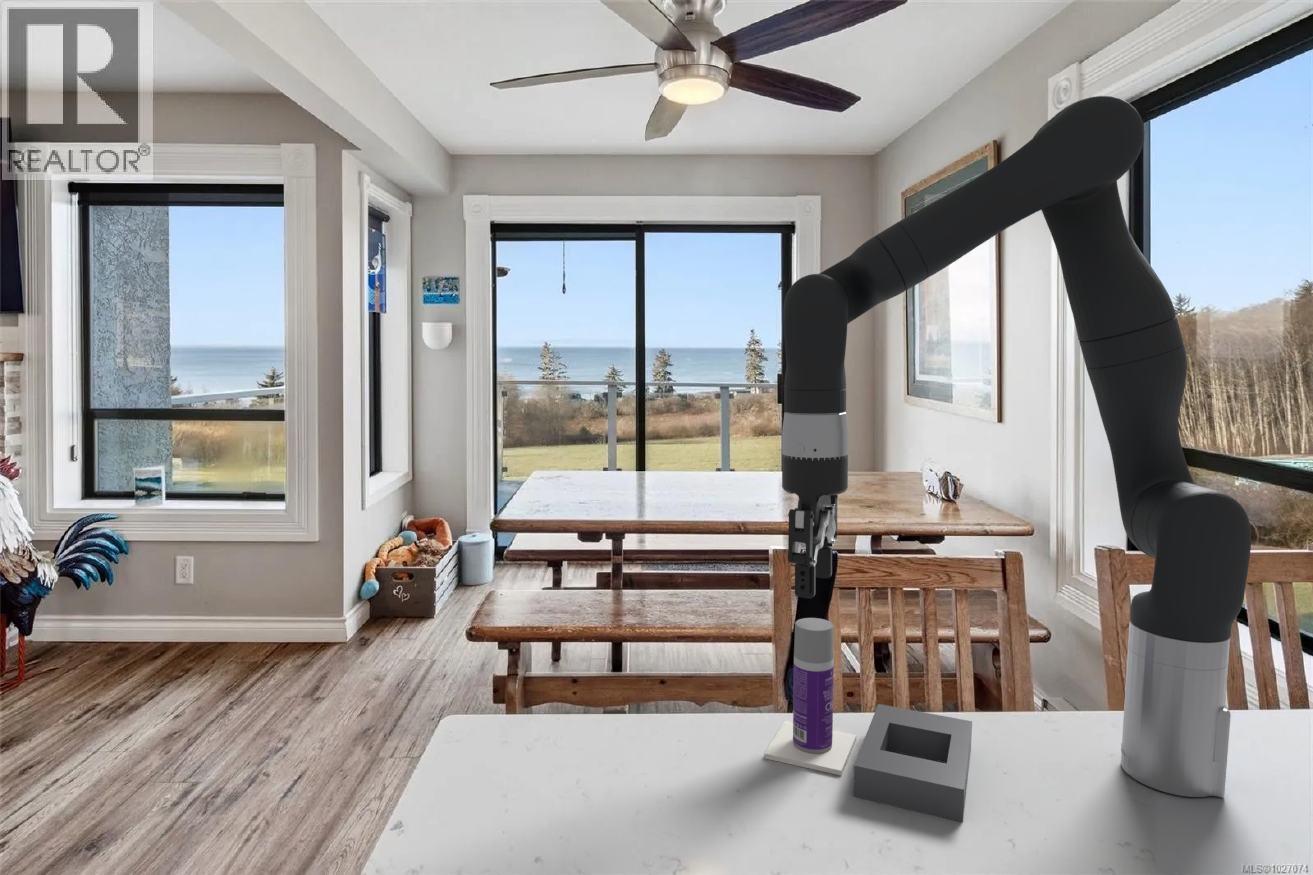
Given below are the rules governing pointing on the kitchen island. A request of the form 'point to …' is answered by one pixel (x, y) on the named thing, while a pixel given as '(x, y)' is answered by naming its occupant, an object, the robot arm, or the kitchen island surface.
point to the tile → (825, 762)
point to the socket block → (915, 762)
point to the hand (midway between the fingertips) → (814, 586)
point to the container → (813, 685)
